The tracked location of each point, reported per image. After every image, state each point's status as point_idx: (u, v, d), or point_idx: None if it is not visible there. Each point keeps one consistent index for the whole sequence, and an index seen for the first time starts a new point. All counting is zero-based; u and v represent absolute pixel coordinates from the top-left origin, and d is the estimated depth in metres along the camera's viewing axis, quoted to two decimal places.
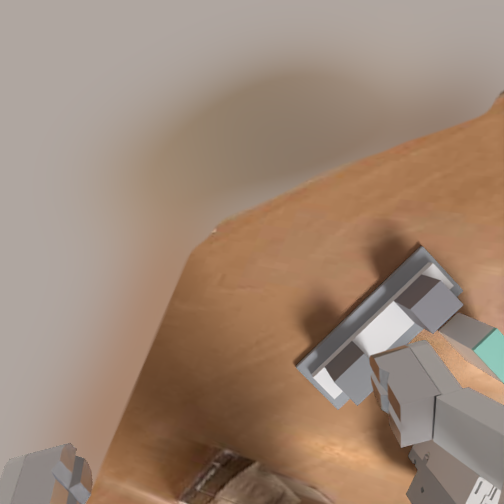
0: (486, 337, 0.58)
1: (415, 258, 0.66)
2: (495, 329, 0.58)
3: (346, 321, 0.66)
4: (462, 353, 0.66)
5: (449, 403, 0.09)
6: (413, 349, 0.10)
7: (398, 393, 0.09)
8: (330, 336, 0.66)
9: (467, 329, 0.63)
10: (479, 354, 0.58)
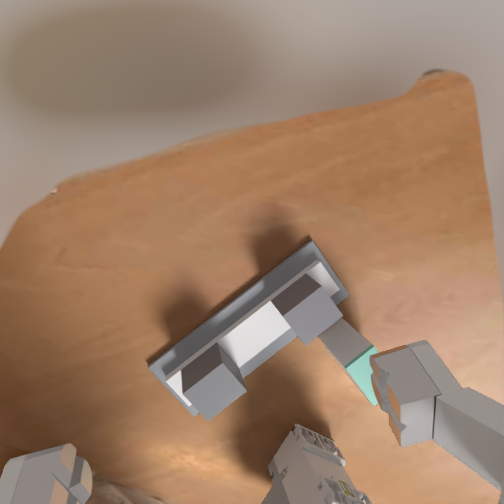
0: (361, 355, 0.51)
1: (302, 253, 0.56)
2: (372, 347, 0.51)
3: (213, 318, 0.56)
4: (338, 363, 0.60)
5: (449, 404, 0.09)
6: (413, 349, 0.10)
7: (398, 393, 0.09)
8: (193, 334, 0.56)
9: (346, 340, 0.55)
10: (351, 373, 0.51)
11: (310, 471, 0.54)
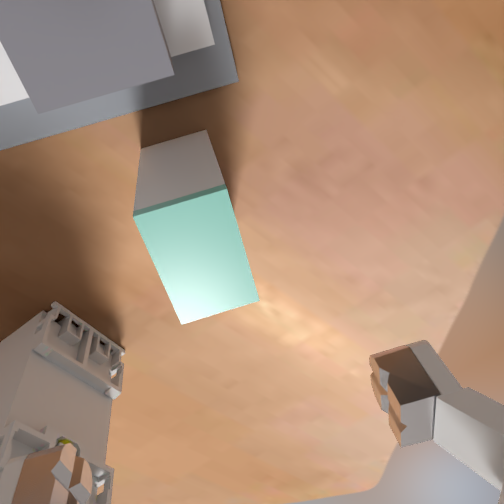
0: (187, 198, 0.19)
1: None
2: (222, 189, 0.19)
3: None
4: None
5: (449, 404, 0.09)
6: (413, 350, 0.10)
7: (398, 393, 0.09)
8: None
9: (182, 165, 0.23)
10: (146, 233, 0.20)
11: (9, 401, 0.25)
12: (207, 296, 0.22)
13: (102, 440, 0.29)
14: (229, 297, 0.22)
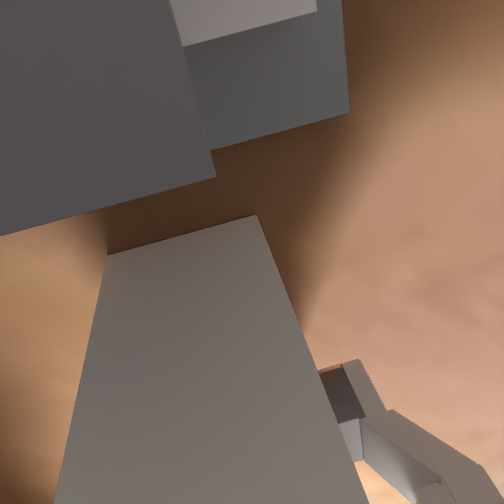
0: None
1: None
2: None
3: None
4: None
5: (371, 426, 0.09)
6: (345, 369, 0.10)
7: None
8: None
9: (207, 373, 0.08)
10: None
11: None
12: None
13: None
14: None
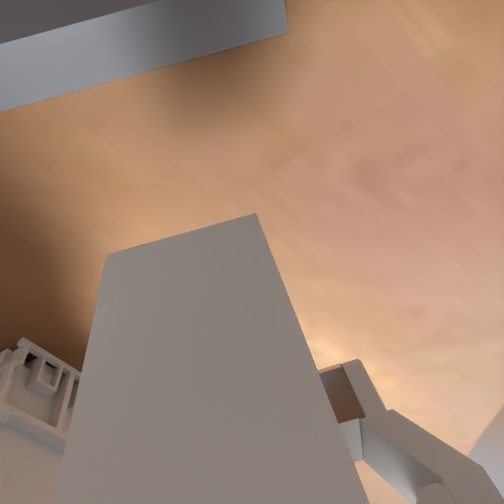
0: None
1: None
2: None
3: None
4: None
5: (371, 426, 0.09)
6: (345, 369, 0.10)
7: None
8: None
9: (207, 371, 0.08)
10: None
11: None
12: None
13: None
14: None
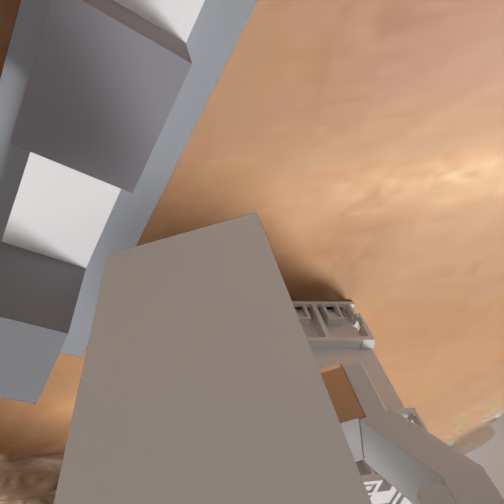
0: None
1: None
2: None
3: None
4: None
5: (371, 427, 0.09)
6: (345, 369, 0.10)
7: None
8: None
9: (208, 371, 0.08)
10: None
11: None
12: None
13: (387, 387, 0.29)
14: None
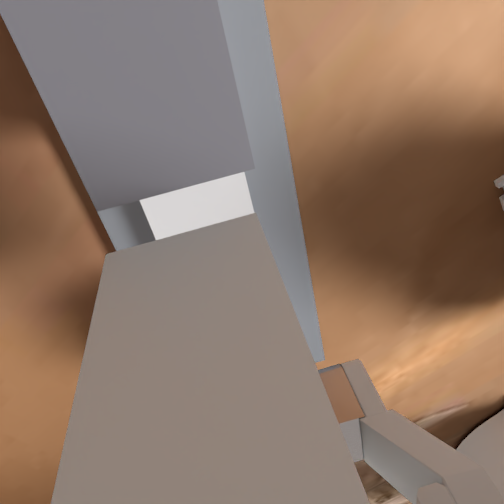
0: None
1: None
2: None
3: None
4: None
5: (371, 426, 0.09)
6: (345, 369, 0.10)
7: None
8: None
9: (207, 372, 0.08)
10: None
11: None
12: None
13: None
14: None
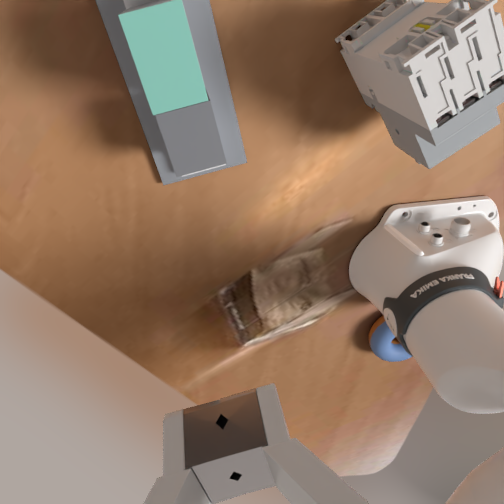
0: (155, 5, 0.29)
1: None
2: None
3: (129, 87, 0.42)
4: None
5: (271, 455, 0.09)
6: (258, 394, 0.10)
7: (228, 443, 0.09)
8: (141, 121, 0.43)
9: None
10: (127, 30, 0.29)
11: (374, 64, 0.37)
12: (170, 91, 0.32)
13: (442, 7, 0.35)
14: (186, 94, 0.32)
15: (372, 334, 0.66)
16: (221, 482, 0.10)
